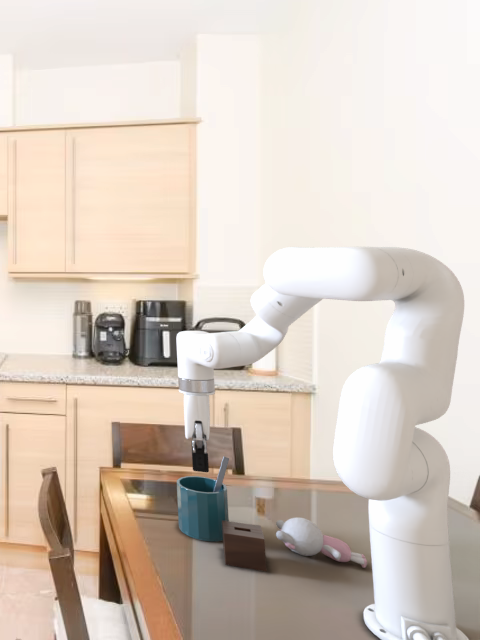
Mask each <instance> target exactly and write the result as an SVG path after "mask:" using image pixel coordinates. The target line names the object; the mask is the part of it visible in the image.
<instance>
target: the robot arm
mask: <svg viewBox="0 0 480 640" xmlns="http://www.w3.org/2000/svg"><path fill="white" fill-rule="evenodd" d="M262 274H263V279H264V282H265V283H264V284H262V285H261V286H260V287H259V288H258V289H257V290H256V291H255V292H253V294H252V295H251V297H250V306H251V308H252V310H253V312H254V313H255V314H256V315H255V316H254V317H253V319H251V320H250V321H248V323H246V324H245V325H244V326H243V327H242V328H240V329H238V330H233V331H232V330H231V331H220V332H211V333H209V332H208V331H203V330H183V331H178V333H176V337H175V338H176V340H175V341H176V358H177V363H176V364H177V376H178V377H177V380H178V381H177V383H178V392H179V393H180V394H183V418H184V420H183V421H184V435H185V436H184V437H185V439H186V440H189V439H191V458H192V459H191V461H192V463H191V464H192V471H193V472H197V473H209V472H210V467H209V463H210V462H209V453H208V444H207V441H209V440H210V434H211V433H210V431H211V408H210V407H211V405H210V404H211V403H210V396H213V395H215V394H216V389H215V388H216V387H215V370H221V369H229V368H235V367H244V366H250V365H253V364H255V363H256V362H258V361H260V360H261V359H263V358H264V357H265V356H267V355H268V354H270V353H271V352H272V351H273V350H274V349H277V347H278V346H279V345H280V344H281V343H283V340H284V339H285V337H286V335H287V334H288V331H289V327H290V326H291V325H293V324H294V323H295V322H296V321H297V320H298V319H300V318H301V317H302V316H303V315H304V314H306V313H307V312H308V311H310V310H311V309H312V308H313V307H315V305H317V304H319V303H320V302H321V301H322V300H337V301H348V302H350V301H351V302H377V301H379V302H381V301H392V302H394V310H393V311H392V313H391V314H392V315H391V316H390V318H389V320H388V323H387V325H386V328H385V332H384V343H383V348H382V353H381V357H380V360H379V362H378V363H371V364H367V365H364V366H361V367H359V368H358V369H356V370H354V371H353V372H352V373H351V374H350V375H349V376H348V377H347V379H346V380H345V382H344V384H343V386H342V388H341V393H340V398H339V402H338V403H339V404H338V410H337V417H336V425H335V431H334V439H333V446H332V449H333V450H332V459H333V460H332V461H333V466H334V468H335V471H336V474H337V475H338V477H339V479H340V480H341V482H342V483H343V484H344V485H345V486H346V487H347V488H348V489H349V490H350V491H351V492H352V493H354V494H356V495H357V496H359V497H362V498H365V499H367V500H368V507H367V508H368V509H367V511H368V528H369V529H368V530H369V541H370V543H369V544H370V556H371V569H372V570H371V572H372V582H373V583H372V585H373V599H374V603H371V604H369V605H367V606H365V608H364V610H363V612H362V614H363V621H364V624H365V625H366V627H367V629H369V631H371V633H373V635H375V636H376V637H377V638H379V639H380V640H470V639H469V637H468V636H467V635H466V634H465V633H464V632H463V631H462V630H460V629H459V628H458V627H457V624H456V623H457V622H456V611H455V609H456V608H455V598H454V597H455V596H454V584H453V575H452V562H451V548H450V547H451V546H450V529H449V511H448V510H449V494H450V493H449V492H450V484H451V464H450V460H449V457H448V454H447V452H446V450H445V448H444V447H443V445H442V444H441V443H440V442H439V441H438V439H436V437H435V436H433V435H431V434H430V433H429V432H428V431H426V430H424V429H421V428H419V427H416V426H419V425H422V424H423V425H424V424H426V423H427V424H428V423H430V422H434V421H436V420H438V419H440V418H441V417H443V416H444V415H445V414H446V413H447V411H448V410H449V408H450V406H451V401H452V400H451V399H452V393H453V388H454V387H453V386H454V379H455V373H456V367H457V360H458V354H459V352H458V351H459V344H460V337H461V331H462V327H463V321H464V315H465V295H464V290H463V287H462V285H461V283H460V280H459V279H458V277H457V275H455V273H454V272H453V271H452V270H451V269H450V267H448V266H447V265H446V264H445V263H444V262H442V261H441V260H439V259H437V258H436V257H434V256H431V255H430V254H428V253H425V252H423V251H420V250H418V249H417V250H416V249H413V248H406V247H397V246H333V247H332V246H331V247H330V246H327V247H326V246H324V247H323V246H321V247H314V246H313V247H309V246H287V247H284V248H280V249H278V250H276V251H275V252H273V253H272V254H271V255H270V256H269V257H268V258H267V260H266V261H265V263H264V266H263V271H262ZM214 369H215V370H214Z"/></svg>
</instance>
